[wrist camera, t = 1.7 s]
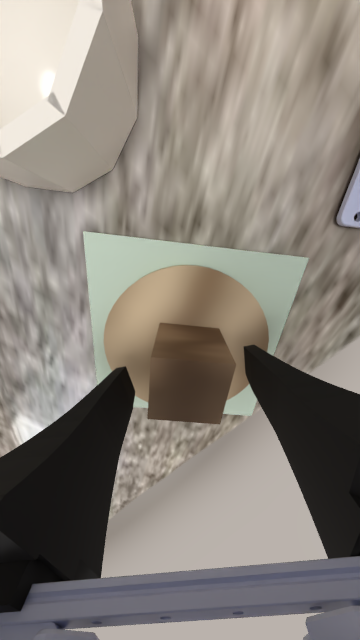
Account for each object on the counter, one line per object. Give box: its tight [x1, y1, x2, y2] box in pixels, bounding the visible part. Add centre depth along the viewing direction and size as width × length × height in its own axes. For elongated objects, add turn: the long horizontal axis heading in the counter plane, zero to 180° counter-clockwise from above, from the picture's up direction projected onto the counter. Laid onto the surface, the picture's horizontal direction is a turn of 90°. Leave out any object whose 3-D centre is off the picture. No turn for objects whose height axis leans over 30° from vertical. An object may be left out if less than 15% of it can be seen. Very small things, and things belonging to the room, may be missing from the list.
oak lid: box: [104, 265, 269, 424], centre depth 11 cm, size 12×12×5 cm
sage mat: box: [83, 231, 309, 416], centre depth 14 cm, size 14×14×1 cm
